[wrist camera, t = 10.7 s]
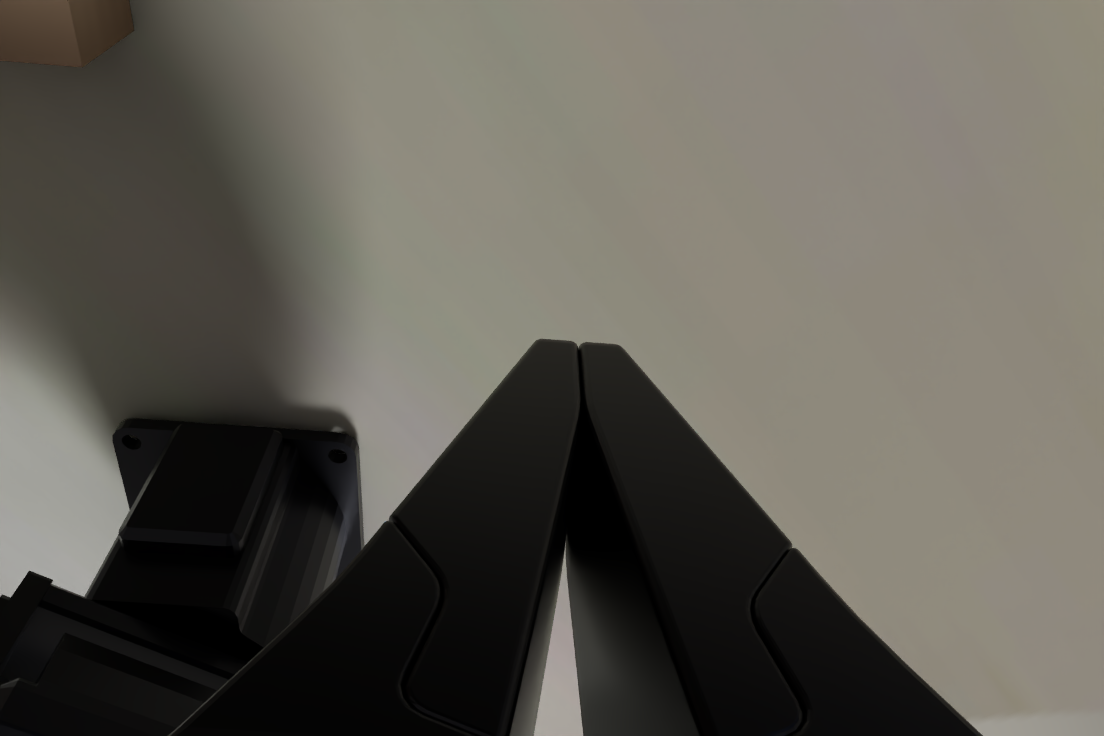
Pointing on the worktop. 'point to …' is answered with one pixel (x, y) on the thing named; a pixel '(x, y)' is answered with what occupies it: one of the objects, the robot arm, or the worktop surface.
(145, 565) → the robot arm
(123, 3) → the wooden tray
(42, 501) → the worktop surface
